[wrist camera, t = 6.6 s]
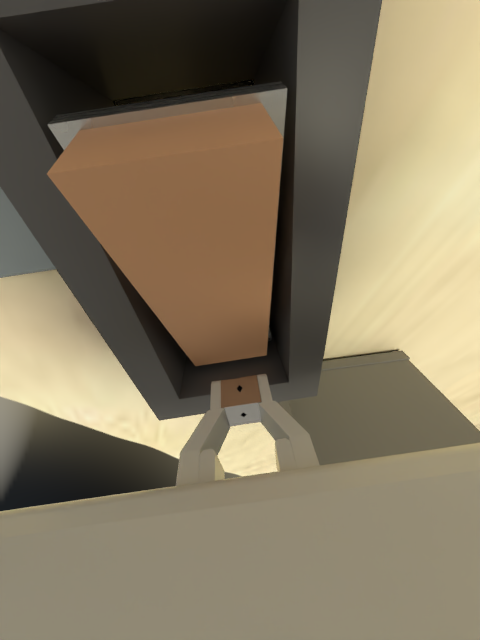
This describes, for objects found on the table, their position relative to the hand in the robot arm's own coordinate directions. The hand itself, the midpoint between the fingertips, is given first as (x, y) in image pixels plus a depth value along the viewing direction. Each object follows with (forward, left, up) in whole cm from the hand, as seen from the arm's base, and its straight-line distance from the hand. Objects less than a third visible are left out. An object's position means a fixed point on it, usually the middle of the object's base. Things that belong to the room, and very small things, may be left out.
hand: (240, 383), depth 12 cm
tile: (+1, -5, -3) cm, 6 cm away
